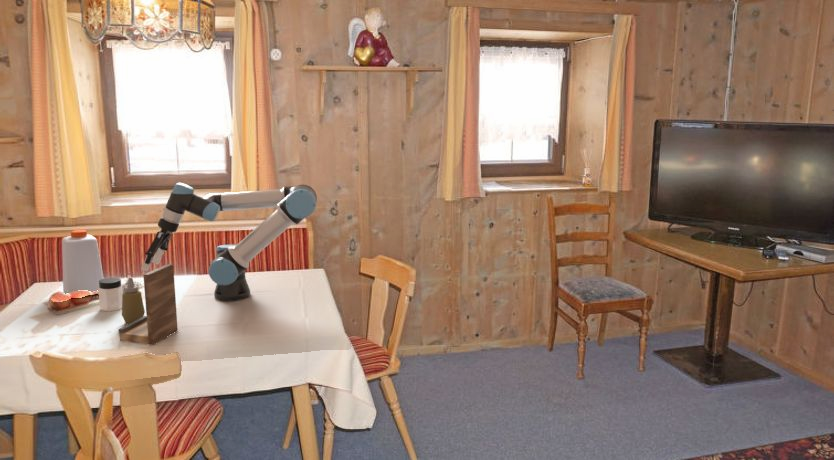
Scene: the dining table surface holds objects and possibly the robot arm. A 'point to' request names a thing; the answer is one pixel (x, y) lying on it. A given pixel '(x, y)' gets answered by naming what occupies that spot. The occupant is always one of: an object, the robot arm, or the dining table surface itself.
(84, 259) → the plastic bottle
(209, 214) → the robot arm
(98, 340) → the dining table surface
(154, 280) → the wooden bookend
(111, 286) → the jar
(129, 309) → the squeeze bottle
